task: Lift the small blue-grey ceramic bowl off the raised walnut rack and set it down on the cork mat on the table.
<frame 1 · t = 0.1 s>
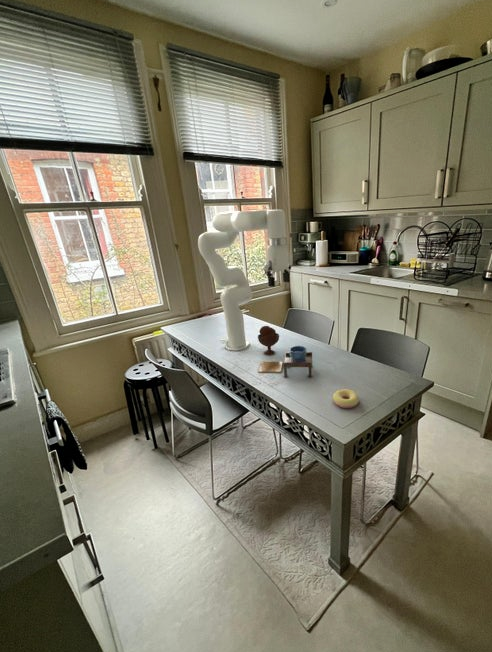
hand: (279, 284, 137), 37 cm above the table, tool pointing down, fingers open, 9 cm apart
ice cream bowl: (269, 353, 162), on the table
donut: (345, 402, 118), on the table
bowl: (298, 359, 139), point 6 cm above the table, touching rack
mat: (271, 367, 147), on the table
rack: (298, 371, 142), on the table
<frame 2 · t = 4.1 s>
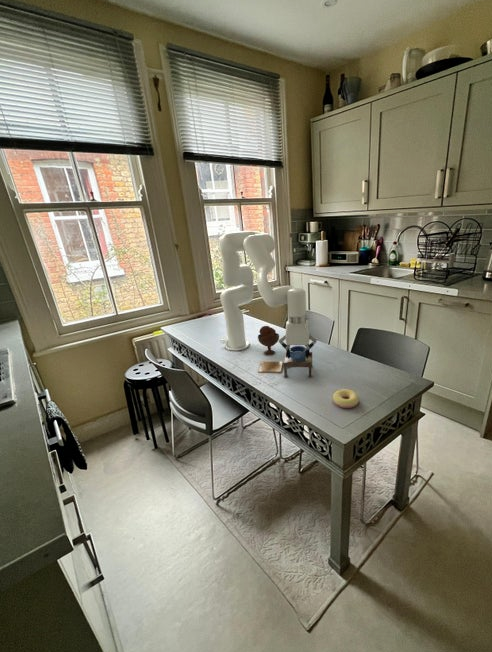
hand: (298, 357, 139), 7 cm above the table, tool pointing down, fingers closed on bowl, 7 cm apart
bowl: (298, 359, 139), point 6 cm above the table, touching gripper, rack
everything else where it was.
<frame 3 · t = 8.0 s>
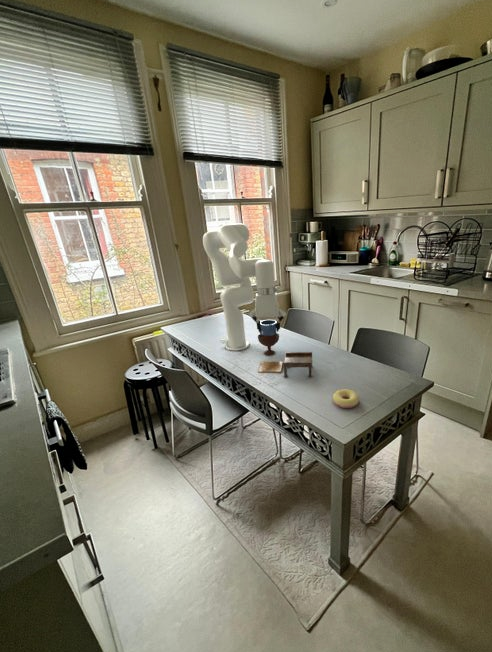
hand: (268, 330, 139), 18 cm above the table, tool pointing down, fingers closed on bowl, 7 cm apart
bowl: (269, 333, 140), point 17 cm above the table, touching gripper
everything else where it was.
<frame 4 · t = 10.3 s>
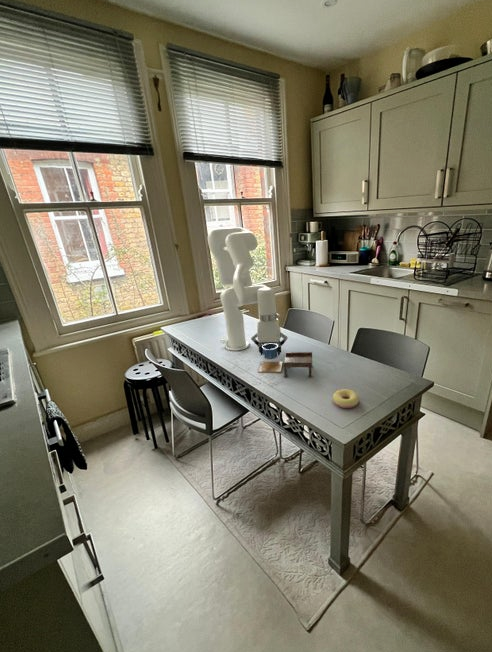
hand: (270, 353, 144), 7 cm above the table, tool pointing down, fingers closed on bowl, 7 cm apart
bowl: (270, 356, 144), point 6 cm above the table, touching gripper
everything else where it was.
when the fingers open (2 cm above the table, at t = 12.1 s): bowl stays where it is, resting on mat.
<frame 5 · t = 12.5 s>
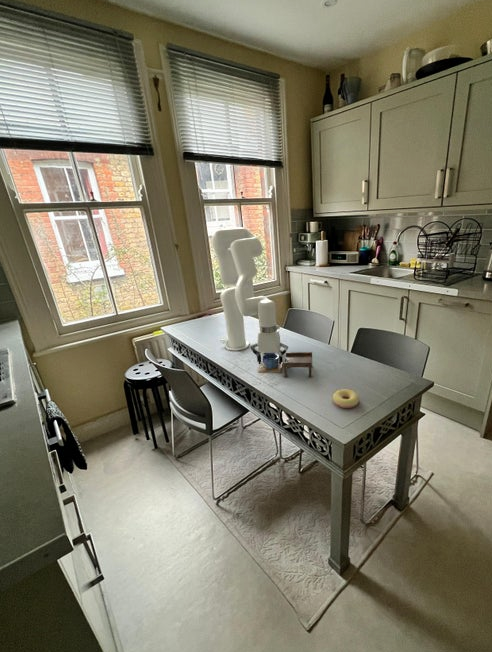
hand: (270, 363, 146), 2 cm above the table, tool pointing down, fingers open, 9 cm apart
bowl: (271, 366, 146), point 1 cm above the table, touching mat
everything else where it was.
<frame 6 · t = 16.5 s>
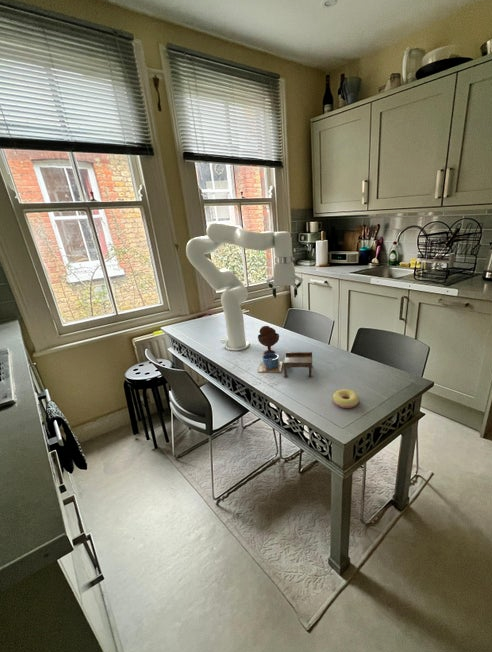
hand: (285, 297, 152), 28 cm above the table, tool pointing down, fingers open, 9 cm apart
nothing on the table moved.
at the end: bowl inside the target area on the mat (0.1 cm from its centre), point 0.6 cm above the mat's base; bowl tilted 0°; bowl touching mat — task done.
